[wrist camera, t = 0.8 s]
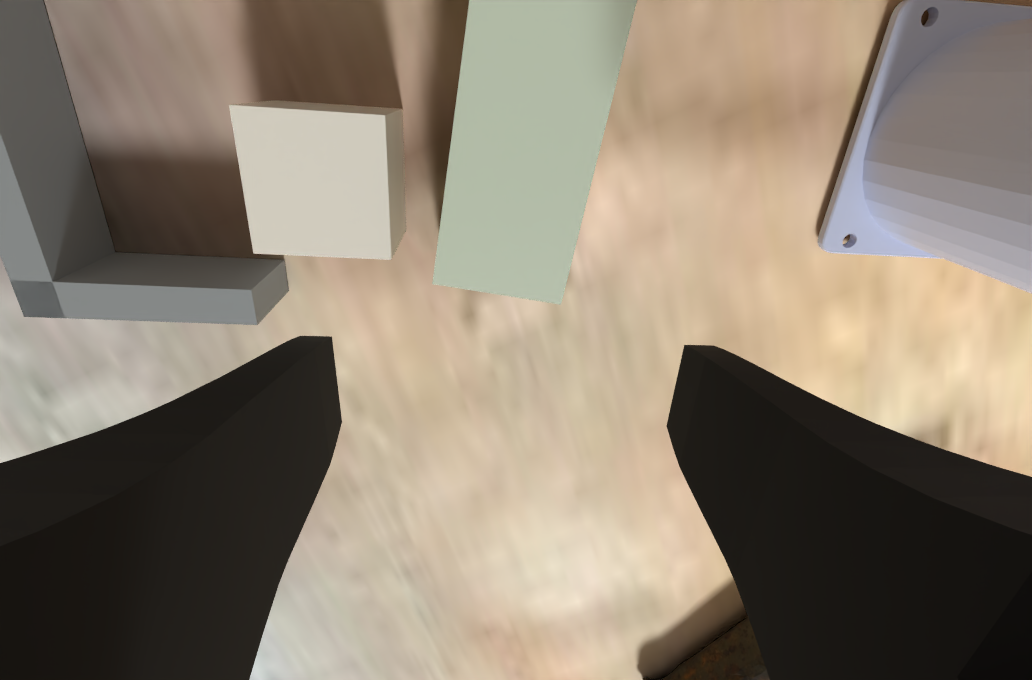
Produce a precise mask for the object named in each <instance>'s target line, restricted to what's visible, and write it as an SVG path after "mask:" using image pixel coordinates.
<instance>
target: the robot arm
mask: <svg viewBox="0 0 1032 680" xmlns="http://www.w3.org/2000/svg"><path fill="white" fill-rule="evenodd" d="M925 10H927V11H928V13H929V17H928V20H927V22H926V24H925V25H922V23H921V17H922V15H923V13H924V11H925ZM848 234H850V239H849V240H848V242H847V243H845V244H842V243H843V239H844V238H845V237H846V236H847V235H848ZM818 245H819V247H820V248H821V249H822V250H824V251H826V252H829V253H841V254H861V255H881V256H901V257H921V258H942V259H945V260H948V261H950V262H953V263H956V264H958V265H961V266H963V267H966V268H968V269H971V270H973V271H976V272H978V273H981V274H983V275H986V276H988V277H991V278H994V279H996V280H999V281H1001V282H1004V283H1006V284H1009V285H1011V286H1014V287H1016V288H1019V289H1021V290H1024V291H1026V292H1029V293H1032V7H1031V6H1020V5H1009V4H998V3H987V2H976V1H965V0H903V1H902V2H900V3H899V4H898V5H897V6H896V7H895V9H894V11H893V13H892V15H891V17H890V20H889V23H888V26H887V30H886V33H885V36H884V39H883V42H882V45H881V48H880V51H879V54H878V57H877V60H876V63H875V66H874V69H873V72H872V75H871V78H870V81H869V84H868V87H867V90H866V93H865V96H864V99H863V102H862V105H861V109H860V112H859V115H858V118H857V121H856V124H855V127H854V130H853V133H852V136H851V139H850V142H849V145H848V148H847V151H846V154H845V157H844V160H843V163H842V166H841V169H840V172H839V175H838V178H837V181H836V184H835V187H834V191H833V194H832V197H831V200H830V203H829V206H828V209H827V212H826V215H825V218H824V221H823V224H822V227H821V230H820V233H819V236H818ZM341 423H342V419H341V410H340V402H339V394H338V385H337V377H336V368H335V360H334V352H333V343H332V337H324V336H299V337H296V338H294V339H292V340H289V341H287V342H285V343H283V344H281V345H279V346H277V347H275V348H274V349H272V350H270V351H268V352H266V353H264V354H262V355H261V356H259V357H257V358H255V359H253V360H251V361H250V362H248V363H246V364H244V365H242V366H240V367H238V368H237V369H235V370H233V371H231V372H229V373H227V374H225V375H224V376H222V377H220V378H218V379H216V380H214V381H212V382H210V383H208V384H206V385H204V386H201V387H199V388H197V389H195V390H193V391H191V392H189V393H187V394H185V395H183V396H181V397H179V398H177V399H175V400H173V401H171V402H169V403H166V404H164V405H162V406H160V407H158V408H155V409H153V410H151V411H148V412H146V413H144V414H141V415H139V416H136V417H134V418H131V419H129V420H126V421H124V422H121V423H119V424H116V425H114V426H111V427H108V428H106V429H103V430H100V431H98V432H95V433H92V434H89V435H86V436H83V437H80V438H77V439H74V440H71V441H68V442H65V443H62V444H59V445H56V446H53V447H50V448H47V449H44V450H41V451H38V452H35V453H32V454H29V455H26V456H23V457H20V458H16V459H13V460H10V461H6V462H3V463H0V680H249V678H250V675H251V672H252V668H253V665H254V661H255V658H256V655H257V651H258V648H259V645H260V641H261V638H262V635H263V632H264V628H265V625H266V622H267V619H268V616H269V613H270V610H271V607H272V603H273V600H274V597H275V594H276V591H277V588H278V585H279V582H280V579H281V577H282V574H283V572H284V569H285V567H286V564H287V562H288V559H289V557H290V555H291V552H292V550H293V548H294V546H295V543H296V541H297V539H298V537H299V534H300V532H301V530H302V528H303V525H304V523H305V521H306V519H307V516H308V514H309V512H310V509H311V507H312V505H313V503H314V500H315V498H316V496H317V494H318V491H319V489H320V487H321V484H322V482H323V480H324V477H325V475H326V473H327V470H328V468H329V466H330V463H331V460H332V456H333V453H334V449H335V446H336V442H337V438H338V435H339V431H340V427H341ZM667 429H668V432H669V435H670V439H671V442H672V445H673V449H674V452H675V455H676V458H677V461H678V463H679V466H680V468H681V471H682V473H683V475H684V477H685V479H686V481H687V483H688V485H689V487H690V489H691V491H692V493H693V496H694V498H695V500H696V502H697V504H698V506H699V508H700V510H701V512H702V514H703V516H704V518H705V520H706V522H707V524H708V526H709V528H710V530H711V532H712V534H713V536H714V538H715V540H716V542H717V544H718V546H719V548H720V550H721V552H722V554H723V556H724V558H725V560H726V562H727V564H728V567H729V569H730V571H731V574H732V576H733V578H734V580H735V583H736V586H737V588H738V591H739V594H740V596H741V599H742V602H743V604H744V607H745V610H746V613H747V615H748V618H749V621H750V623H751V626H752V629H753V632H754V635H755V637H756V640H757V643H758V646H759V649H760V652H761V655H762V658H763V661H764V664H765V667H766V670H767V673H768V676H769V679H770V680H1032V477H1030V476H1026V475H1023V474H1020V473H1016V472H1013V471H1009V470H1006V469H1002V468H999V467H996V466H993V465H989V464H986V463H983V462H980V461H977V460H974V459H971V458H968V457H965V456H962V455H959V454H956V453H953V452H949V451H946V450H944V449H941V448H938V447H935V446H932V445H930V444H927V443H924V442H921V441H918V440H916V439H913V438H911V437H908V436H906V435H903V434H901V433H898V432H896V431H893V430H891V429H888V428H885V427H883V426H880V425H878V424H875V423H873V422H871V421H868V420H866V419H864V418H861V417H859V416H857V415H855V414H853V413H850V412H848V411H846V410H844V409H842V408H840V407H838V406H835V405H833V404H831V403H829V402H827V401H825V400H823V399H821V398H819V397H817V396H815V395H813V394H811V393H809V392H807V391H805V390H803V389H801V388H799V387H797V386H795V385H793V384H791V383H789V382H787V381H785V380H783V379H781V378H779V377H778V376H776V375H774V374H772V373H770V372H768V371H766V370H764V369H762V368H760V367H758V366H757V365H755V364H753V363H751V362H749V361H747V360H745V359H743V358H741V357H739V356H737V355H735V354H733V353H730V352H728V351H726V350H724V349H721V348H718V347H716V346H706V345H684V349H683V354H682V359H681V363H680V368H679V372H678V377H677V381H676V386H675V390H674V395H673V399H672V404H671V408H670V413H669V418H668V422H667Z"/></svg>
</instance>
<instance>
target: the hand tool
mask: <svg viewBox="0 0 1032 680" xmlns="http://www.w3.org/2000/svg"><path fill="white" fill-rule="evenodd" d="M643 680H653V679H650V678H648V677H646V678H644V679H643ZM662 680H770V679H769V676H768V673H767V670H766V667H765V664H764V661H763V658H762V655H761V652H760V649H759V646H758V643H757V640H756V637H755V635H754V632H753V629H752V626H751V623H750V621H749V618H746V619H745V620H743V621H741V622H740V623H739V624H737V625H736V626H735V627H733V628H732V629H730V630H729V631H728V632H727V633H725V634H723V635H722V636H720V637H719V638H718V639H716V640H715V641H714V642H712V643H711V644H709V645H708V646H707V647H705V648H704V649H703V650H701V651H700V652H698V653H697V654H695V655H694V656H693V657H691V658H689V659H688V660H687V661H685V662H684V663H682V664H680V665H679V666H678V667H677V668H676V669H675V670H674V671H673V672H672V673H671V674H669V675H668V676H666V677H665V678H663V679H662Z"/></svg>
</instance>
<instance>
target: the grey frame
mask: <svg viewBox="0 0 1032 680" xmlns="http://www.w3.org/2000/svg"><path fill="white" fill-rule="evenodd" d="M0 256H1V258H2V261H3V264H4V266H5V269H6V271H7V274H8V276H9V279H10V282H11V284H12V287H13V289H14V292H15V294H16V297H17V300H18V302H19V305H20V307H21V310H22V312H23V315H24V317H46V318H75V319H103V320H131V321H160V322H188V323H216V324H244V325H258V324H259V323H260V321H261V320H262V319H263V318H264V317H265V316H266V315H267V314H268V313H269V312H270V311H271V310H272V308H273V307H274V306H275V305H276V304H277V303H278V302H279V301H280V300H281V299H282V298H283V296H284V295H285V294H286V293H287V292H288V291H289V290H288V282H287V275H286V268H285V261H284V260H276V259H254V258H231V257H209V256H187V255H164V254H142V253H120V252H115V249H114V246H113V242H112V239H111V235H110V232H109V228H108V225H107V221H106V218H105V215H104V211H103V208H102V204H101V201H100V197H99V194H98V190H97V187H96V183H95V180H94V176H93V173H92V169H91V166H90V162H89V159H88V155H87V152H86V148H85V145H84V141H83V138H82V134H81V131H80V127H79V124H78V120H77V117H76V113H75V110H74V106H73V103H72V99H71V96H70V92H69V89H68V85H67V82H66V78H65V75H64V71H63V68H62V64H61V61H60V57H59V54H58V50H57V47H56V43H55V40H54V36H53V33H52V29H51V26H50V22H49V19H48V15H47V12H46V9H45V5H44V2H43V0H0Z"/></svg>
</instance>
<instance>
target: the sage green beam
mask: <svg viewBox="0 0 1032 680" xmlns="http://www.w3.org/2000/svg"><path fill="white" fill-rule="evenodd" d="M636 2H637V0H469V7H468V14H467V22H466V30H465V38H464V45H463V53H462V61H461V68H460V76H459V84H458V91H457V99H456V107H455V114H454V122H453V130H452V137H451V145H450V153H449V160H448V168H447V176H446V183H445V191H444V199H443V206H442V214H441V222H440V230H439V237H438V245H437V253H436V260H435V268H434V276H433V283H432V284H435V285H442V286H448V287H454V288H460V289H467V290H473V291H479V292H486V293H492V294H498V295H504V296H511V297H517V298H523V299H529V300H536V301H542V302H548V303H554V304H561V302H562V298H563V294H564V290H565V286H566V282H567V278H568V274H569V270H570V266H571V262H572V258H573V254H574V250H575V246H576V242H577V238H578V234H579V230H580V226H581V222H582V218H583V214H584V210H585V206H586V202H587V198H588V194H589V190H590V186H591V182H592V178H593V174H594V170H595V166H596V162H597V158H598V154H599V150H600V146H601V142H602V138H603V134H604V130H605V126H606V122H607V118H608V114H609V110H610V106H611V102H612V98H613V94H614V90H615V86H616V82H617V78H618V74H619V70H620V66H621V62H622V58H623V54H624V50H625V46H626V42H627V38H628V34H629V30H630V26H631V22H632V18H633V14H634V10H635V6H636Z"/></svg>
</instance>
